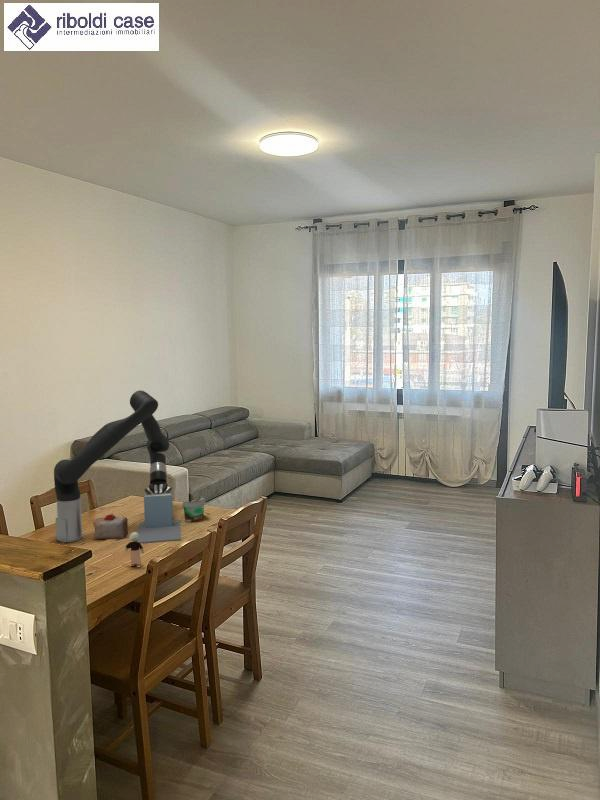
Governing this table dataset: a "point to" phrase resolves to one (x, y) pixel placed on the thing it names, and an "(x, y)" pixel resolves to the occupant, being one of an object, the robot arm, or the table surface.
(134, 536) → the grandmother figurine
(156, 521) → the book
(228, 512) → the table surface
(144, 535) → the mat
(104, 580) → the table surface
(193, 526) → the table surface
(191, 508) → the food container
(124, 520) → the food item
